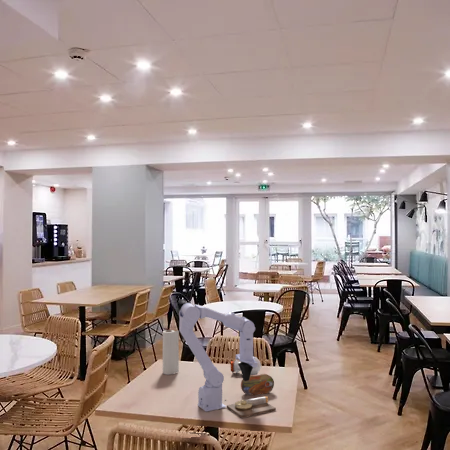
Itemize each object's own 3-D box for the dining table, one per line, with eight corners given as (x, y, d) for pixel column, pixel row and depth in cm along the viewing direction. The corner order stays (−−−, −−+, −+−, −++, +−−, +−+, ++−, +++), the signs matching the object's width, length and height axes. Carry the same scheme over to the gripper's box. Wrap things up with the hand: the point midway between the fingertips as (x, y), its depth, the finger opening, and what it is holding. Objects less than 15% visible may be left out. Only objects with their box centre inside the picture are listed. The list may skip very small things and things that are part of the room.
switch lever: (239, 411, 185) (239, 405, 185) (231, 405, 192) (231, 399, 192) (271, 405, 191) (271, 399, 191) (263, 399, 198) (263, 394, 198)
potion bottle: (261, 379, 232) (232, 380, 236) (263, 363, 240) (235, 364, 244) (257, 367, 227) (228, 368, 231) (259, 351, 235) (231, 352, 239)
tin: (242, 396, 205) (242, 377, 205) (240, 394, 208) (240, 375, 208) (274, 393, 209) (274, 374, 209) (271, 390, 212) (271, 372, 212)
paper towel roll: (160, 374, 236) (160, 331, 236) (165, 370, 242) (165, 329, 242) (173, 375, 234) (173, 332, 234) (178, 372, 239) (178, 330, 240)
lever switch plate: (241, 418, 181) (241, 415, 181) (226, 407, 192) (226, 405, 192) (275, 410, 189) (275, 407, 189) (259, 400, 200) (259, 398, 200)
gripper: (263, 350, 193) (263, 383, 193) (245, 343, 206) (245, 374, 206) (249, 352, 190) (249, 386, 190) (231, 345, 203) (231, 376, 202)
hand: (246, 380), depth 198 cm, fingers closed
